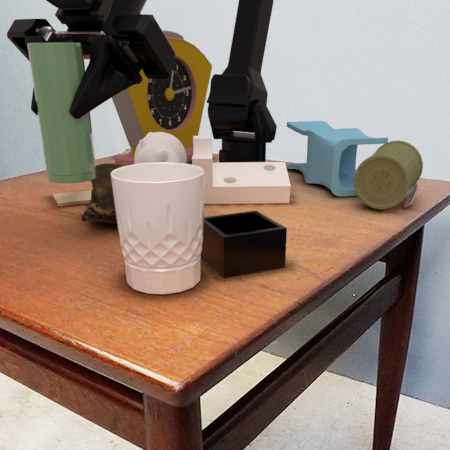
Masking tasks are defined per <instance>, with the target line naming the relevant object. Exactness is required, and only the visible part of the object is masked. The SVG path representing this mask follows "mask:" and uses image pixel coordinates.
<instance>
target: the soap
mask: <svg viewBox="0 0 450 450" xmlns="http://www.w3.org/2000/svg"><path fill="white" fill-rule="evenodd" d="M130 152H131V148H125V150H124V151H123V152H121V153H118V154H115V155H114V157H116V156H117V155H121V154H126V153H130Z"/></svg>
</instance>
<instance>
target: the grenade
mask: <svg viewBox="0 0 450 450" xmlns="http://www.w3.org/2000/svg"><path fill="white" fill-rule="evenodd" d="M423 169H424V162H423V157H422V155H421V153H420V151H419V150H418V149H417V148H416V147H415V146H414V145H413V144H411V143H409V142H407V141H405V140H392V141H388V142H387V143H385V144H381V146H380V147H378V148H377V149H376V151H375V152H374V153H372V155H370V156H369V157H367V158H365V159H364V160H362V162H360V163H359V164H358V167H357V168H356V169H355V175H354V188H355V192H356V194H357V196H356V197H358V199H359V200H360V201H361V202H362V203H363V204H364V205H366V206H367V207H370V208H372V209H376V210H387V209H392V208H394V207H397V206H398V205H399V204H401V202H403V200H404V199H405V198H406V197H407V198H406V199H405V202H404V203H403V208H408V207H409V206H411V205H412V204H413V201H414V200H415V197H416V194H417V192H418V190H419V184H418V181H419V180H420V178H421V176H422V173H423ZM408 192H409V193H408Z"/></svg>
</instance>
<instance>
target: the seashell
mask: <svg viewBox="0 0 450 450" xmlns="http://www.w3.org/2000/svg"><path fill="white" fill-rule="evenodd" d="M120 167H123V166H122V165H117V164H115V163H111V162H110V163H100V164H96V175H97V177H96V178H95V179H93V180H90V182H91V187H92V189H91V190H92V191H91V201H90V202H89V203H88V204H85V211H84V212H83V213H82V214H81V215H80V217H81V218H80V219H81V220H80V221H82V222H86V221H89V222H97V223H106V224H107V223H108V224H114V225H115V224H116V225H117V219H116V211H115V204H114V196H113V189H112V182H111V175H110V174H111V172H112V171H113V170H115V169H117V168H120Z"/></svg>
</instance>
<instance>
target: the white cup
mask: <svg viewBox="0 0 450 450" xmlns="http://www.w3.org/2000/svg"><path fill="white" fill-rule="evenodd" d="M110 175H111V182H112V189H113V196H114V204H115V211H116V219H117V224H116V225H117V232H118V236H119V237H118V238H119V244H120V250H121V253H122V256H123V262H124V263H123V264H124V270H125V278H126V283H127V285H128V286H129V287H130V288H132V290H134V291H136V292H140V293H144V294H147V295H148V294H149V295H170V294H176V293H182V292H185V291H187V290H190V289H192V288H194V287H195V286H196V285H197V284H199V282H200V281H201V262H202V261H201V259H202V257H201V252H202V241H203V221H204V217H205V216H204V214H205V204H204V179H205V171H204V169H203V168H201V167H199V166H196V165H192V163H191V164H190V163H187V164H185V163H174V162H153V163H140V164H133V165H127V166H123V167H120V168H117V169H115V170H113V171H112V172H111V174H110Z"/></svg>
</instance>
